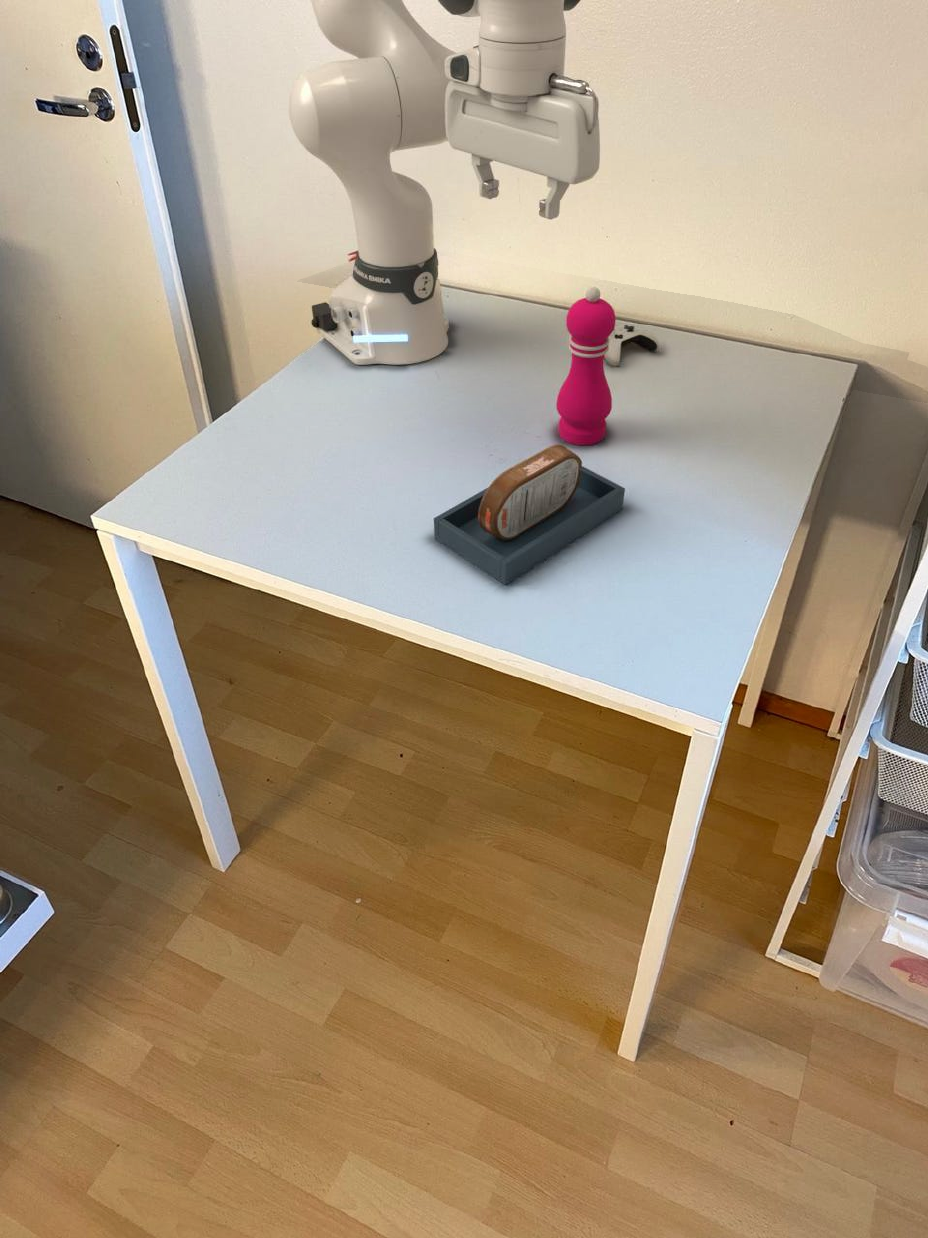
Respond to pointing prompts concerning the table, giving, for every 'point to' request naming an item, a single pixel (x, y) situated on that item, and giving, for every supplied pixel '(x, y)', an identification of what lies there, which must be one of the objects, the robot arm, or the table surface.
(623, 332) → the game controller
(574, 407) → the pepper mill
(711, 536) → the table surface
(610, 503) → the tray
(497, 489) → the tin
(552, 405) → the table surface
